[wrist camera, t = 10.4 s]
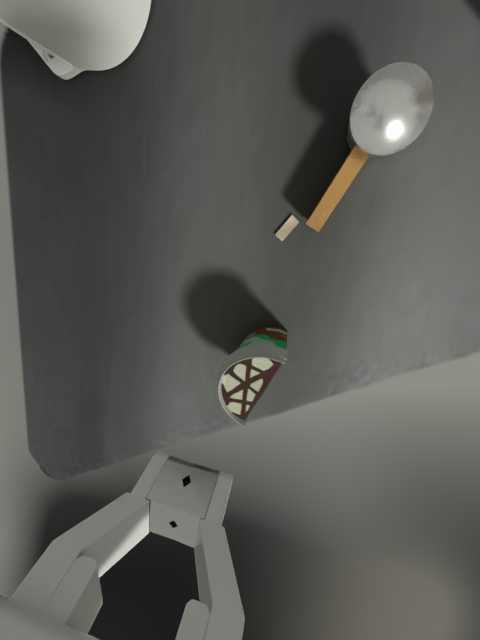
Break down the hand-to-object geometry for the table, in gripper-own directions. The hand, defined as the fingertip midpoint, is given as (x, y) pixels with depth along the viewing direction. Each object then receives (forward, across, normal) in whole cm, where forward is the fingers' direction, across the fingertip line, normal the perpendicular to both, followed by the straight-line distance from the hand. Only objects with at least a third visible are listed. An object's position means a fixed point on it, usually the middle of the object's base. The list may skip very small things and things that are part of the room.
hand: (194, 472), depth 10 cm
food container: (+29, +1, +11) cm, 31 cm away
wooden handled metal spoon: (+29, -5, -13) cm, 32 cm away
